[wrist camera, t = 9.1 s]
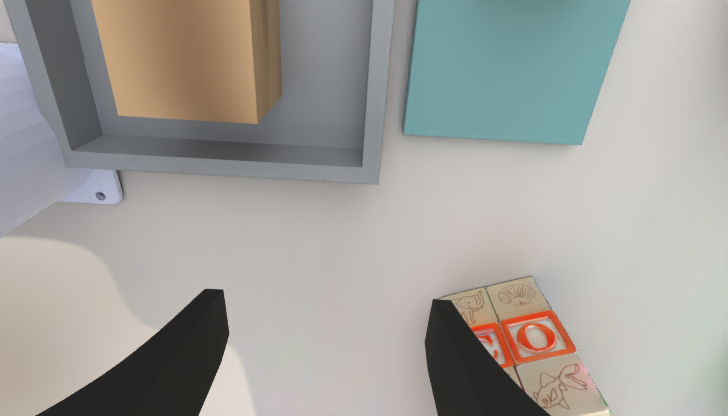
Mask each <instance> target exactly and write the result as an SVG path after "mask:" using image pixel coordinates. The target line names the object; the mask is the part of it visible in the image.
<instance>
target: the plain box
mask: <svg viewBox="0 0 728 416" xmlns="http://www.w3.org/2000/svg"><path fill="white" fill-rule="evenodd" d="M91 2H92V6H93V10H94V14H95V19H96V23H97V27H98V31H99V35H100V40H101V44H102V48H103V52H104V57H105V61H106V65H107V69H108V74H109V78H110V82H111V86H112V90H113V95H114V99H115V103H116V107H117V112H118V116H132V117H149V118H166V119H182V120H199V121H216V122H232V123H249V124H258V123H259V122H260V121H261V119H262V118H263V117H264V116H265V115H266V113H267V112H268V111H269V110H270V109H271V108H272V106H273V105H274V104H275V103H276V102H277V100H278V99H279V98H280V97H281V96H282V72H281V44H280V16H279V0H91Z"/></svg>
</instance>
